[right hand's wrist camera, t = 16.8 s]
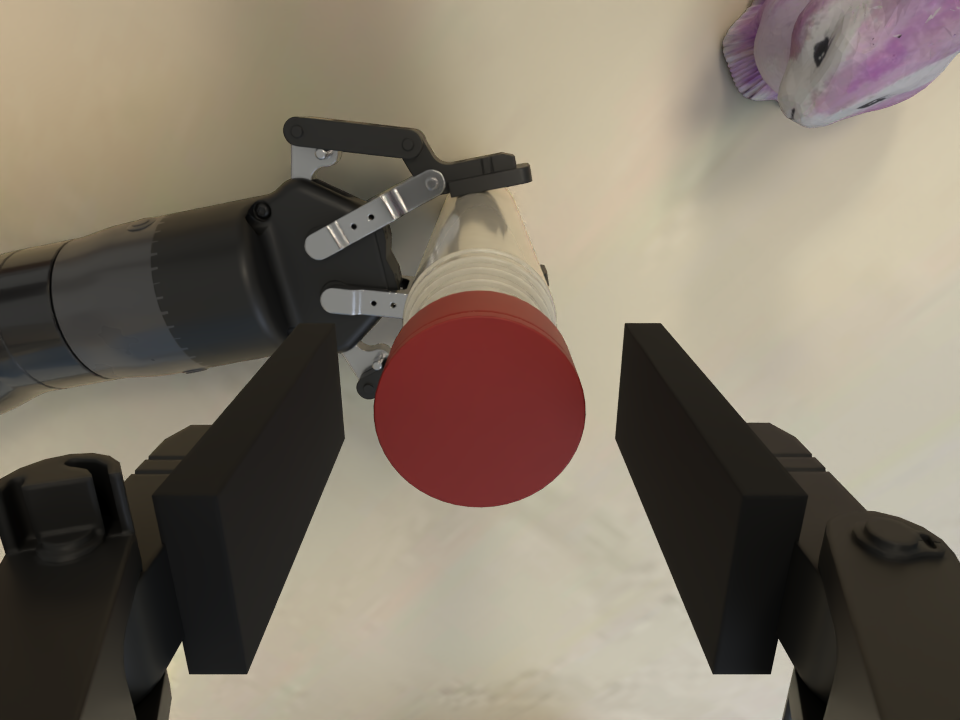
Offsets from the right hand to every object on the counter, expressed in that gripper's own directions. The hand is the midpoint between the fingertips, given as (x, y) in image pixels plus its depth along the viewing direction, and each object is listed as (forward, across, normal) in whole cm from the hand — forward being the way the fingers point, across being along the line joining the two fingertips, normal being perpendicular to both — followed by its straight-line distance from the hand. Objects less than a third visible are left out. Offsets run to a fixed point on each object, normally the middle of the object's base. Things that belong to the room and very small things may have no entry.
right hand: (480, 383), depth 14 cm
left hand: (+18, -3, 0) cm, 18 cm away
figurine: (+24, -17, -9) cm, 31 cm away
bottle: (+24, 0, 0) cm, 24 cm away
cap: (-1, 0, 0) cm, 1 cm away
